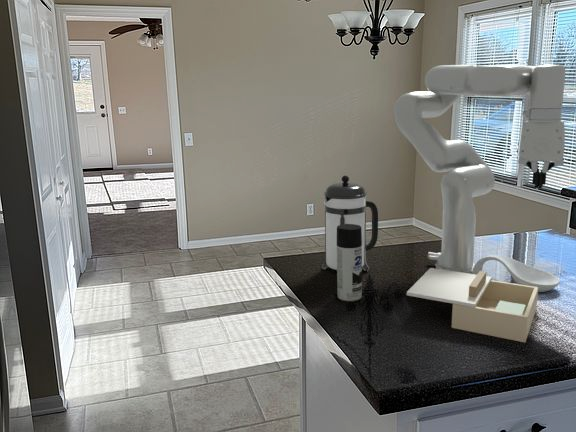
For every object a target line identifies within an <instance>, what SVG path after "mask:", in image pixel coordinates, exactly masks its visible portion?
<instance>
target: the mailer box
mask: <svg viewBox="0 0 576 432" xmlns="http://www.w3.org/2000/svg"><path fill="white" fill-rule="evenodd" d="M538 294H539V292H538V287H533V286H526V285H520V284H517V283H514V282H513V283H512V282H506V281H500V280H491V282H490V283H489V285H488V286H487V288H486V290H485V291H484V293H483V295H482V296H481V298H480V300H479V301H478V303H477V305H476V306H475V307H470V306H464V305H458V304H453V303H452V311H451V328H452V329H456V330H462V331H466V332H471V333H476V334H482V335H487V336H492V337H496V338H501V339H506V340H511V341H517V342H520V343H526V342H527V339H528V336H529V334H530V330H531V328H532V327H531V326H532V324H533V320H534V318H535V315H536V311H537V305H538Z"/></svg>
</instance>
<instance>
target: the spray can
mask: <svg viewBox="0 0 576 432" xmlns="http://www.w3.org/2000/svg"><path fill="white" fill-rule="evenodd" d="M336 272H337V273H336V282H337V283H336V285H337V288H336V289H337V298H338V299H339V300H341V301H345V302H357V301H358V300H361V299H362V298H363V297H362V295H363V294H362V293H363V269H362V231H361V226H360V225H355V224H342V225H339V226H337V270H336Z"/></svg>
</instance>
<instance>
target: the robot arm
mask: <svg viewBox="0 0 576 432" xmlns="http://www.w3.org/2000/svg"><path fill="white" fill-rule="evenodd" d="M565 81H566V68H565V66H564V65H563V64H543V65H541V64H540V65H537V66H534V65H486V66H485V65H484V66H483V65H478V64H450V65H449V64H445V65H444V64H443V65H441V64H440V65H436V66H433V67H432V68H431V69H429V70H428V71H427V72H426V74H425V77H424V84H425V87H426V88H427V90H428V91H427V90H426V91H424V90H423V91H420V90H419V91H411V92H407V93H404V94H402V95H401V96H399V97H398V98H397V100H396V102H395V104H394V109H393V110H394V111H393V113H394V120H395V124H396V126H397V128H398V130H399V131H400V132H401V133H402V135H403V136H404V138H406V139H407V140H408V141H409V142H410V143H411V144H412V147H414V149H415V151H417V153H418V154H419V156H420V157H421V158H422V159H423V161H424V162H425V163H426V164H427V166H428V167H429V168H430V170H432V171H433V172H435V173H444V175H443V176H442V178H441V181H440V190H441V191H440V192H441V196H442V228H441V231H442V233H441V248H440V249H441V252H437V253H436V252H433V251H428V253H427V258H428V259H429V260H430V261H436V263H435V269H442V270H449V271H455V272H462V273H469V274H472V271H473V268H474V266H475V264H476V262H474V254H475V253H474V252H475V237H476V221H477V220H476V219H477V217H476V216H477V214H476V206H475V204H474V201H473V198H475V197H481V196H483V195H487V194H489V193H490V192H491V191H492V190H493V189H494V187H495V183H496V182H495V181H496V180H495V174H494V172H493V171H492V169H491V167H490V166H489V165H488V164H487V163H486V161H485V160H484V159H483V158H482V157H481V156H480V154H479V153H478V152H477V150H476V149H475V148H474V147H473V146H472V145H471V144H469V143H468V142H467V141H465V140H462V139H453V140H452V139H450V140H448V139H445V138H444V137H443V135H441V134H440V133H439V131H438V130H437V129H436V127H434V126H433V125H432V124H430V123H429V122H428V121H426V120H425V119H433V118H438V117H440V116H441V115H443V114H445V113H446V112H447V111H448V110H449V109H450V108H451V107H452V105H454V104H455V103H456V102H457V101H458V100H459V99H460V98H461V96H467V97H468V96H471V97H473V96H487V97H488V96H490V97H491V96H493V97H507V96H508V97H510V96H512V97H513V96H529V104H528V105H529V106H528V109H527V110H522V117H525V118H527V120H525V121H524V123H523V126H522V130H521V135H520V143H519V152H518V153H519V154H518V156H519V157H518V160H517V163H518V164H520V165H523V166H527V168H529V169H530V170H531V172H532V181H531V182H532V183H531V184H532V185H534V189H538V188H539V189H542V188H543V185H544V186H545V185H546V181H547V173H548V172H549V171H550V170H551V169H552V168H555V167H560V166H564V164H565V160H564V153H565V141H566V140H565V139H566V131H565V129H566V127H565V121H563V120H562V114H563V102H564V93H565V92H564V91H565V83H566V82H565ZM539 162H543V165H542V168H541V170H540V168H539Z"/></svg>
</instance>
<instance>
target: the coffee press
mask: <svg viewBox="0 0 576 432" xmlns="http://www.w3.org/2000/svg"><path fill="white" fill-rule="evenodd" d="M349 181H350V178H349V176H348V175H343V176H341V182H337V183H336V182H335V183H332V184H330V185H328V186H327V187H326V190H325V191H324V193H323V194H324V195H323V196H324V198H323V199H324V200H323V205H324V233H325V234H324V236H325V237H324V239H325V241H324V244H325V246H324V250H325V253H324V254H325V256H324V257H325V258H324V259H325V260H324V262H323V264H322V266H321V269H322V270H326V269H328V268H330V269H332V270H336V271H337V226H339V225H342V224H355V225H360V226H361V231H362V271H364V272H365V271H366V270H367V272H366V273H368V272H369V271H370V267H369V265H368V263H367V259H366V258H367V256H366V255H367V254H366V253H367V252H368V251H370V250H371V249H373V248H374V247H375V246H376V244H377V241H378V238H379V237H378V236H379V211H378V207H377V205H376V203H374V202H373V201H369V200H366V198H367V195H368V193H367V191H366V189H365V188H364V185H361V184H359V183H356V182H355V183H354V182H349ZM367 208H370V212H371V238H370V241H369V242H368V244H366V243H367ZM325 263H326V265H327V266H326V267H324V265H325ZM364 265H365V266H366V267H367V269H366V268H365V267H364Z"/></svg>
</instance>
